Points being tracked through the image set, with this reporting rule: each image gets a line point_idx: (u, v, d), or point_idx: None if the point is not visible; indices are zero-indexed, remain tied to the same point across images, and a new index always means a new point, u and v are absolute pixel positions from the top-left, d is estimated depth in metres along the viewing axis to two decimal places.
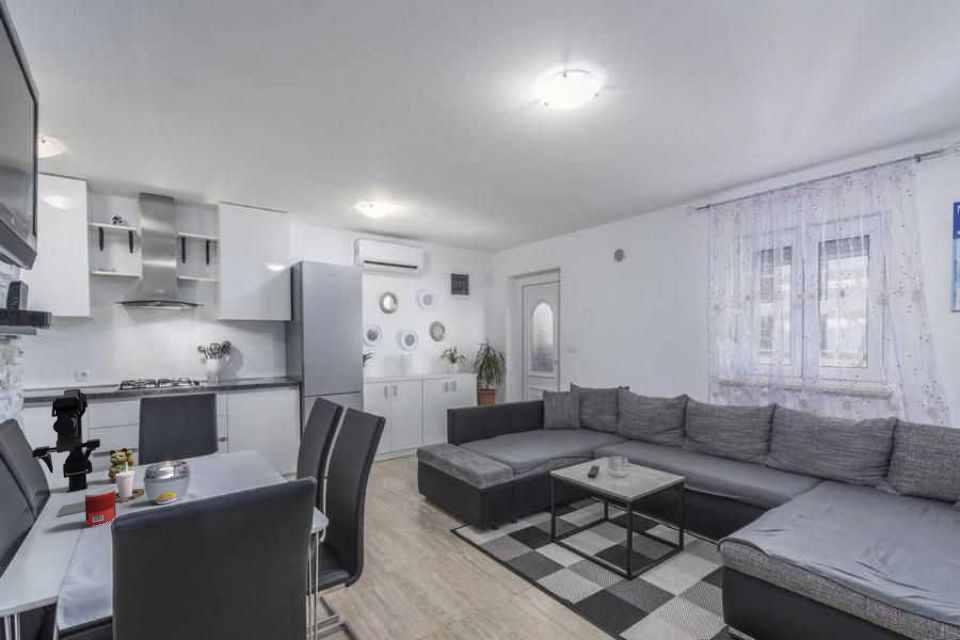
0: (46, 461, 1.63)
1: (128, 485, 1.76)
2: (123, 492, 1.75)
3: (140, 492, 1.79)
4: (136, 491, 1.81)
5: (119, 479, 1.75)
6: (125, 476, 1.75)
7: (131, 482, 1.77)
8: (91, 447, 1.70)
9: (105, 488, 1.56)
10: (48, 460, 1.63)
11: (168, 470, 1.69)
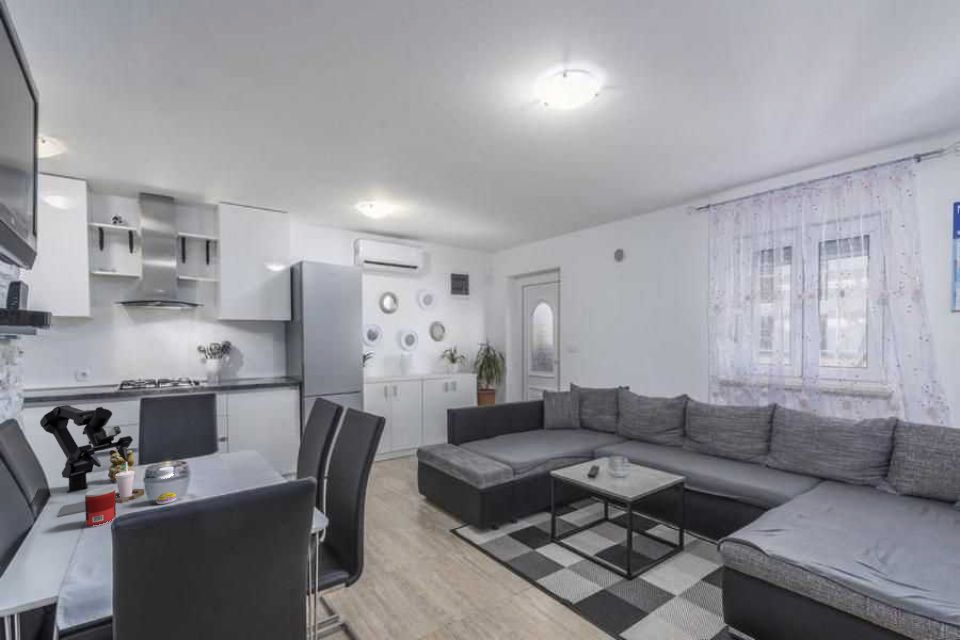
0: (92, 455, 1.76)
1: (128, 485, 1.76)
2: (123, 492, 1.75)
3: (140, 492, 1.79)
4: (136, 491, 1.81)
5: (119, 479, 1.75)
6: (125, 476, 1.75)
7: (131, 482, 1.77)
8: (126, 439, 1.88)
9: (105, 488, 1.56)
10: (94, 454, 1.76)
11: (168, 470, 1.69)
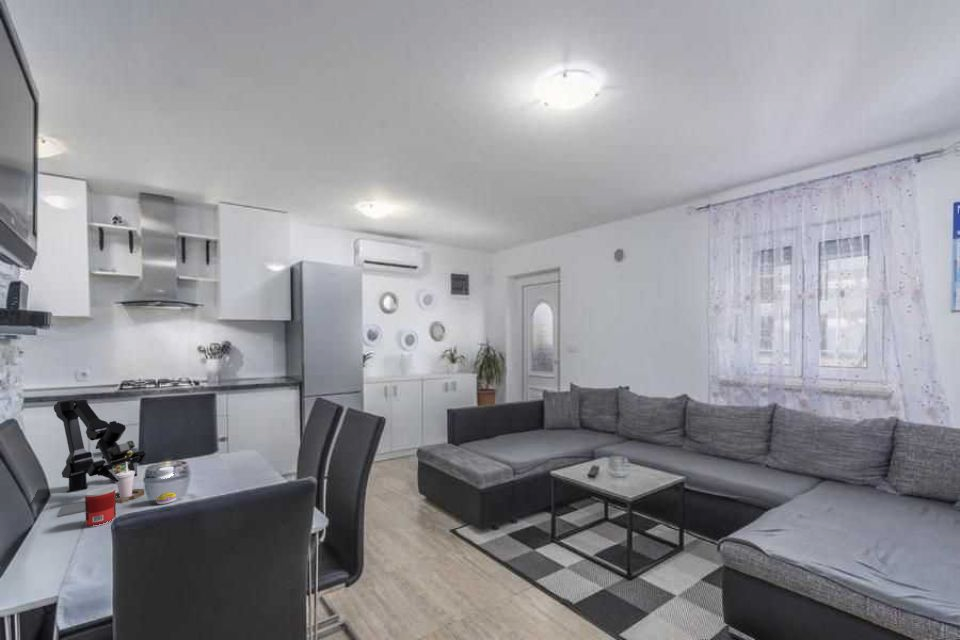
0: (110, 470, 1.74)
1: (128, 485, 1.76)
2: (123, 492, 1.75)
3: (140, 492, 1.79)
4: (136, 491, 1.81)
5: (119, 479, 1.75)
6: (125, 476, 1.75)
7: (131, 482, 1.77)
8: (140, 453, 1.85)
9: (105, 488, 1.56)
10: (111, 469, 1.74)
11: (168, 470, 1.69)
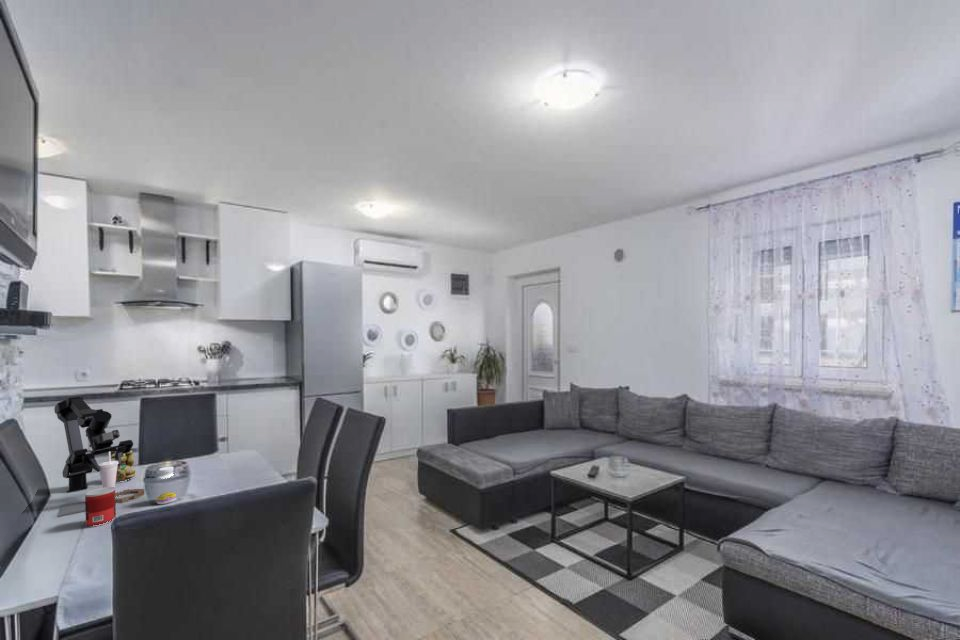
0: (92, 459, 1.70)
1: (110, 476, 1.72)
2: (105, 482, 1.71)
3: (140, 492, 1.79)
4: (136, 491, 1.81)
5: (100, 469, 1.71)
6: (106, 466, 1.71)
7: (113, 472, 1.73)
8: (126, 443, 1.80)
9: (105, 488, 1.56)
10: (93, 458, 1.71)
11: (168, 470, 1.69)
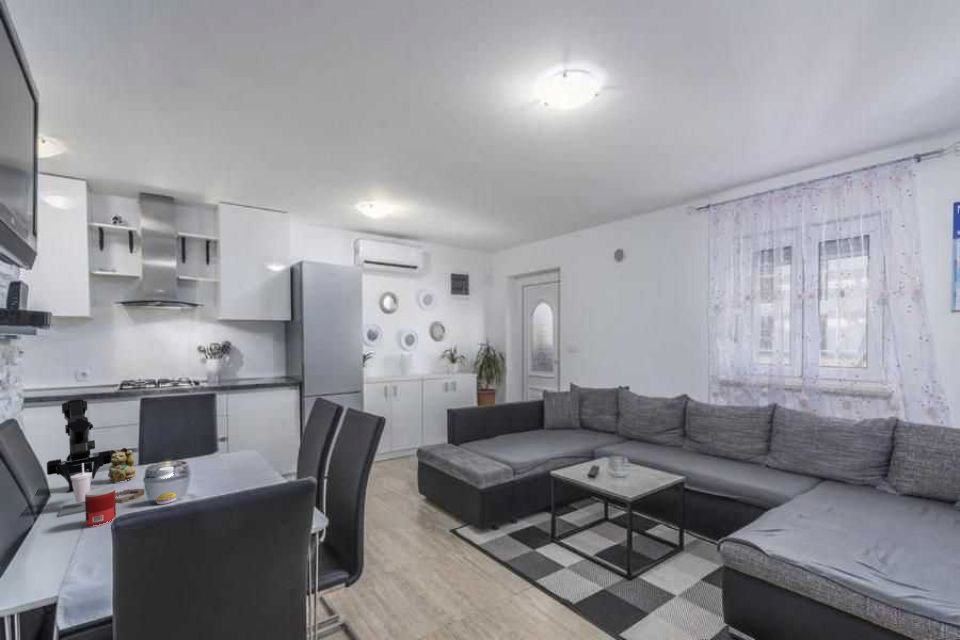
0: (64, 470, 1.66)
1: (80, 489, 1.66)
2: (76, 495, 1.66)
3: (140, 492, 1.79)
4: (136, 491, 1.81)
5: (72, 482, 1.66)
6: (76, 479, 1.65)
7: (85, 485, 1.67)
8: (104, 454, 1.74)
9: (105, 488, 1.56)
10: (66, 469, 1.66)
11: (168, 470, 1.69)
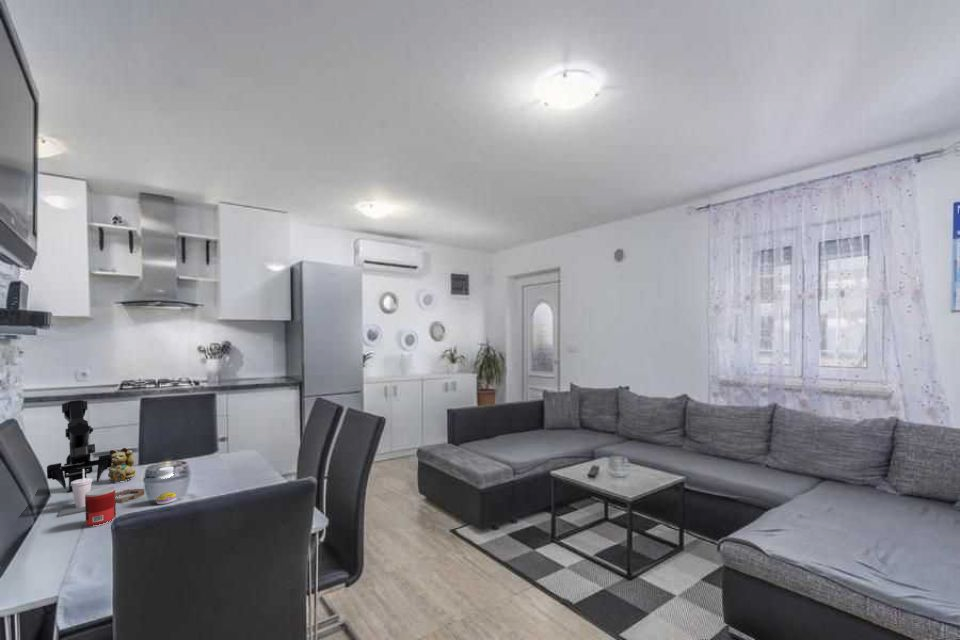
0: (60, 475, 1.65)
1: (81, 494, 1.66)
2: (76, 501, 1.66)
3: (140, 492, 1.79)
4: (136, 491, 1.81)
5: (72, 487, 1.66)
6: (77, 484, 1.65)
7: (85, 491, 1.67)
8: (104, 458, 1.74)
9: (105, 488, 1.56)
10: (62, 474, 1.65)
11: (168, 470, 1.69)
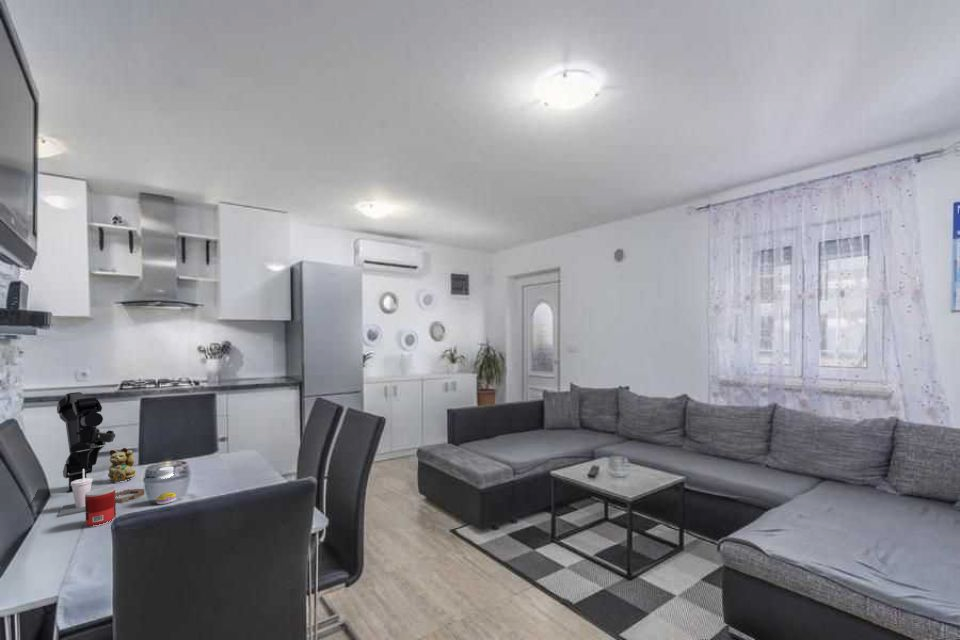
0: (88, 455, 1.74)
1: (81, 494, 1.66)
2: (76, 501, 1.66)
3: (140, 492, 1.79)
4: (136, 491, 1.81)
5: (72, 487, 1.66)
6: (77, 484, 1.65)
7: (85, 491, 1.67)
8: (104, 443, 1.87)
9: (105, 488, 1.56)
10: (89, 454, 1.75)
11: (168, 470, 1.69)
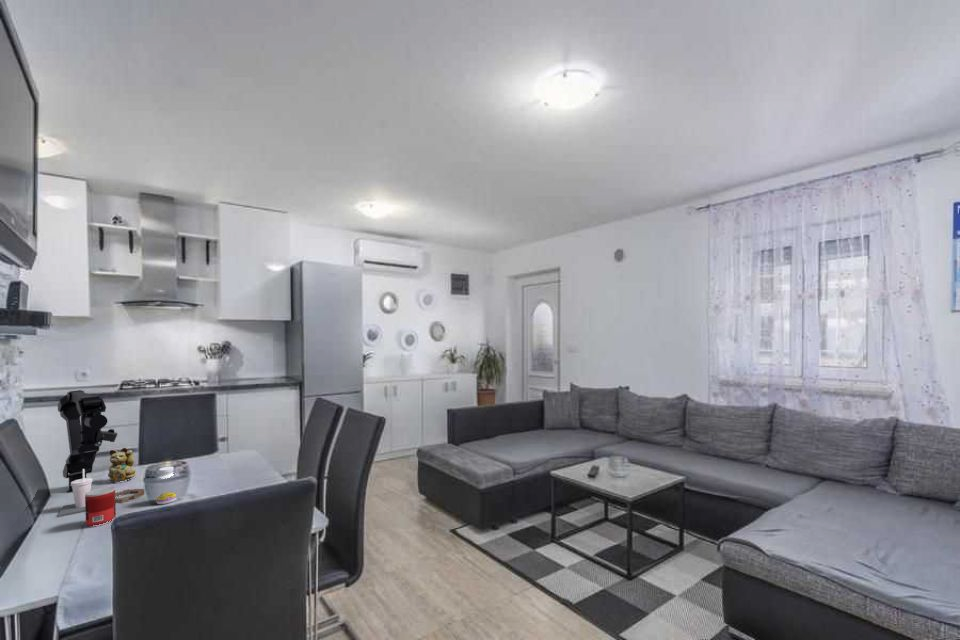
0: (94, 455, 1.76)
1: (81, 494, 1.66)
2: (76, 501, 1.66)
3: (140, 492, 1.79)
4: (136, 491, 1.81)
5: (72, 487, 1.66)
6: (77, 484, 1.65)
7: (85, 491, 1.67)
8: None
9: (105, 488, 1.56)
10: (94, 454, 1.76)
11: (168, 470, 1.69)
